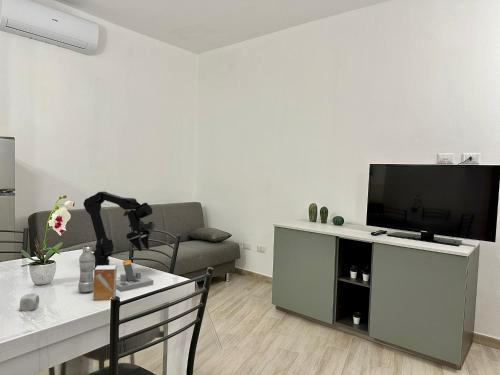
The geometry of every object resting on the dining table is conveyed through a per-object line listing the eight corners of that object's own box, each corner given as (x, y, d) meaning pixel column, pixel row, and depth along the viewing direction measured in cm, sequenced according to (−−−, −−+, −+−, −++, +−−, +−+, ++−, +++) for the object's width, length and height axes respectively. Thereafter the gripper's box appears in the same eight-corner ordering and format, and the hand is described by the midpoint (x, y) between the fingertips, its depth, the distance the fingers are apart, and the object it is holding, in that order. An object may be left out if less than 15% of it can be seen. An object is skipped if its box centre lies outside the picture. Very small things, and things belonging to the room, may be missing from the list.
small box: (93, 300, 142) (93, 269, 141) (96, 295, 148) (97, 265, 148) (113, 299, 144) (114, 268, 143) (116, 294, 150) (117, 264, 150)
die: (19, 311, 128) (19, 298, 128) (24, 306, 133) (25, 293, 133) (34, 310, 130) (34, 297, 129) (39, 305, 134) (39, 293, 134)
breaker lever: (126, 282, 163) (122, 262, 166) (133, 280, 166) (129, 261, 169) (128, 280, 162) (124, 260, 165) (135, 279, 164) (131, 259, 167)
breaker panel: (107, 283, 163) (107, 273, 163) (139, 277, 175) (139, 267, 174) (120, 291, 153) (121, 280, 153) (153, 284, 165) (153, 273, 165)
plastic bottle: (90, 288, 157) (92, 244, 156) (96, 292, 152) (97, 247, 151) (75, 291, 152) (76, 246, 151) (81, 295, 147) (82, 248, 146)
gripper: (142, 216, 170) (152, 246, 168) (155, 216, 188) (165, 243, 187) (121, 223, 170) (131, 254, 169) (137, 223, 189) (146, 250, 187)
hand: (144, 250), depth 178 cm, fingers open, 9 cm apart
